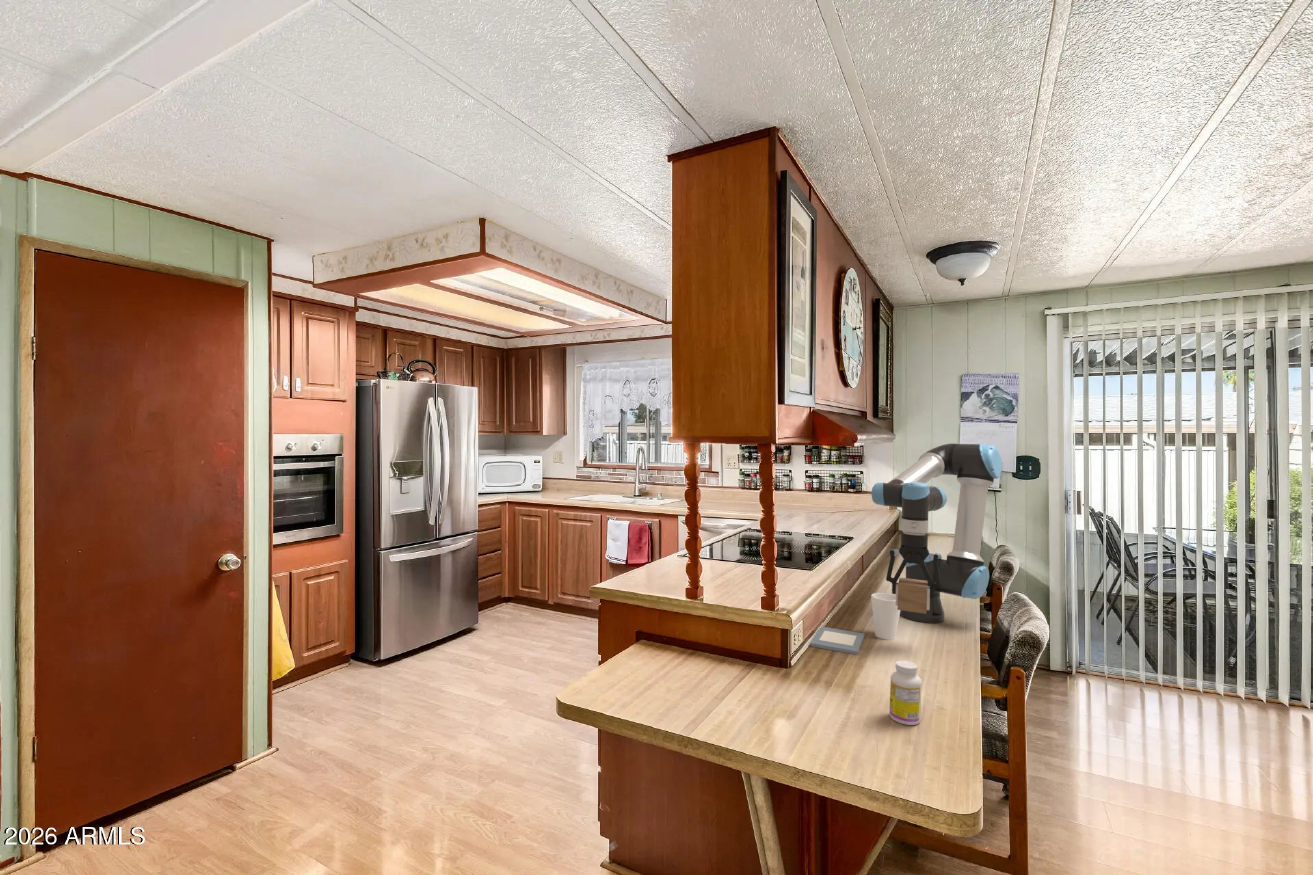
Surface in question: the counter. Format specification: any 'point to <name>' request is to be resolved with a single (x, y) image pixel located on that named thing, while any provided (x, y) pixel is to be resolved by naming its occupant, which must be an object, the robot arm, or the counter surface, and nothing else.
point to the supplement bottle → (905, 694)
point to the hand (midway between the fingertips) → (912, 606)
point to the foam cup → (885, 615)
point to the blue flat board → (838, 640)
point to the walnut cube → (912, 595)
